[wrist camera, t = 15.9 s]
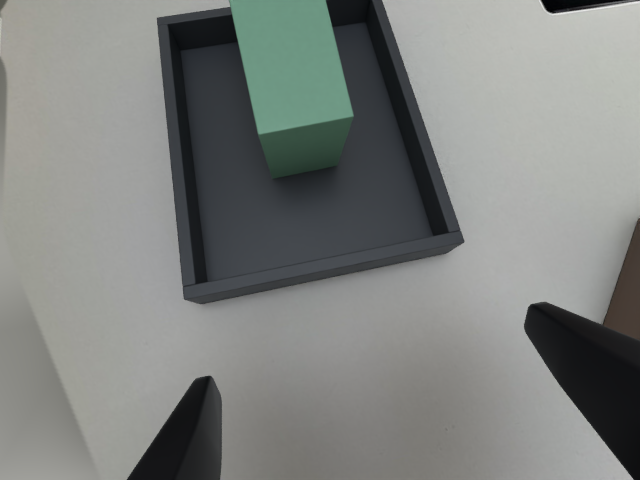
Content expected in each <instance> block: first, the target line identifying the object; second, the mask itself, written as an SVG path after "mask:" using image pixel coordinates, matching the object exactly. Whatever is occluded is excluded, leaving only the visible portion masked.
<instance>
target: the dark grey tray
mask: <svg viewBox="0 0 640 480" xmlns="http://www.w3.org/2000/svg"><path fill="white" fill-rule="evenodd" d="M326 3H327V8H328V12H329V16H330V20H331V24H332V28H333V32H334V36H335V41H336V45H337V49H338V53H339V57H340V61H341V65H342V69H343V74H344V78H345V82H346V86H347V90H348V94H349V98H350V103H351V107H352V111H353V115H354V117H353V120H352V123H351V126H350V129H349V132H348V135H347V138H346V141H345V144H344V147H343V150H342V153H341V156H340V159H339V162H338V165H337V166H333V167H328V168H323V169H318V170H313V171H308V172H304V173H299V174H294V175H289V176H284V177H279V178H274V179H272V176H271V173H270V170H269V167H268V164H267V161H266V158H265V154H264V151H263V148H262V145H261V142H260V139H259V136H258V132H257V127H256V123H255V118H254V113H253V109H252V104H251V99H250V95H249V90H248V86H247V81H246V76H245V72H244V67H243V62H242V58H241V53H240V49H239V44H238V39H237V35H236V30H235V25H234V21H233V16H232V12H231V7H227V8H220V9H213V10H206V11H200V12H193V13H186V14H179V15H172V16H166V17H159V18H157V25H158V36H159V46H160V56H161V67H162V77H163V87H164V98H165V108H166V118H167V129H168V139H169V149H170V160H171V170H172V180H173V191H174V201H175V211H176V222H177V232H178V242H179V253H180V263H181V273H182V283H183V294H184V300H188V301H191V302H195V303H199V304H204V303H209V302H214V301H219V300H224V299H228V298H233V297H238V296H243V295H248V294H252V293H257V292H262V291H267V290H272V289H277V288H281V287H286V286H291V285H296V284H301V283H306V282H310V281H315V280H320V279H325V278H330V277H335V276H339V275H344V274H349V273H354V272H359V271H364V270H368V269H373V268H378V267H383V266H388V265H392V264H397V263H402V262H407V261H412V260H417V259H421V258H426V257H431V256H436V255H441V254H446V253H448V252H449V251H451V250H453V249H454V248H456V247H457V246H459V245H461V244H462V243H464V239H463V236H462V233H461V231H460V227H459V224H458V221H457V218H456V215H455V212H454V209H453V207H452V204H451V201H450V198H449V195H448V192H447V189H446V186H445V183H444V180H443V177H442V174H441V171H440V169H439V166H438V163H437V160H436V157H435V154H434V151H433V148H432V145H431V142H430V139H429V136H428V133H427V131H426V128H425V125H424V122H423V119H422V116H421V113H420V110H419V107H418V104H417V101H416V98H415V95H414V93H413V90H412V87H411V84H410V81H409V78H408V75H407V72H406V69H405V66H404V63H403V60H402V57H401V55H400V52H399V49H398V46H397V43H396V40H395V37H394V34H393V31H392V28H391V25H390V22H389V19H388V17H387V14H386V11H385V8H384V5H383V2H382V0H326Z"/></svg>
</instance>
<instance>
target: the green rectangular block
mask: <svg viewBox="0 0 640 480" xmlns="http://www.w3.org/2000/svg"><path fill="white" fill-rule="evenodd" d="M229 2H230V7H231V12H232V16H233V21H234V25H235V30H236V35H237V39H238V44H239V49H240V53H241V58H242V62H243V67H244V72H245V76H246V81H247V86H248V90H249V95H250V99H251V104H252V109H253V113H254V118H255V123H256V127H257V132H258V136H259V139H260V142H261V145H262V148H263V151H264V154H265V158H266V161H267V164H268V167H269V170H270V173H271V176H272V179H274V178H279V177H284V176H289V175H294V174H299V173H304V172H308V171H313V170H318V169H323V168H328V167H333V166H337V165H338V162H339V159H340V156H341V153H342V150H343V147H344V144H345V141H346V138H347V135H348V132H349V129H350V126H351V123H352V120H353V117H354V115H353V111H352V107H351V103H350V98H349V94H348V90H347V86H346V82H345V78H344V74H343V69H342V65H341V61H340V57H339V53H338V49H337V45H336V41H335V36H334V32H333V28H332V24H331V20H330V16H329V12H328V8H327V3H326V0H229Z"/></svg>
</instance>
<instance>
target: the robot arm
mask: <svg viewBox="0 0 640 480" xmlns="http://www.w3.org/2000/svg"><path fill="white" fill-rule="evenodd" d="M524 329H525V332H526V334H527V336H528V337H529V339H530V340H531V342H532V343H533V345H534V347H535V348H536V350H537V351H538V353H539V354H540V356H541V357H542V359H543V361H544V362H545V364H546V365H547V367H548V368H549V370H550V371H551V373H552V375H553V376H554V377H555V379H556V380H557V382H558V383H559V385H560V386H561V387H562V389H563V390H564V391H565V392H566V394H567V395H568V396H569V398H570V399H571V400H572V401H573V403H574V404H575V405H576V407H577V408H578V409H579V410H580V412H581V413H582V414H583V415H584V417H585V418H586V419H587V421H588V422H589V423H590V424H591V426H592V427H593V428H594V429H595V431H596V432H597V433H598V435H599V436H600V437H601V438H602V440H603V441H604V442H605V444H606V445H607V446H608V447H609V449H610V450H611V451H612V452H613V454H614V455H615V456H616V458H617V459H618V460H619V461H620V463H621V464H622V465H623V466H624V468H625V469H626V470H627V472H628V473H629V474H630V475H631V477H632V478H633V479H634V480H640V340H638V339H635V338H633V337H630V336H628V335H625V334H623V333H621V332H618V331H616V330H613V329H611V328H608V327H606V326H603V325H601V324H599V323H596V322H594V321H591V320H589V319H586V318H584V317H581V316H579V315H577V314H574V313H572V312H569V311H567V310H564V309H562V308H559V307H557V306H555V305H552V304H550V303H547V302H540V303H535V304H531V305H530V306H529V307H528V310H527V315H526V319H525V323H524ZM221 460H222V400H221V395H220V392H219V390H218V388H217V386H216V384H215V381H214V379H213V378H212V376H205V377H200V378H197V379H195V380H194V381H193V383H192V384H191V386H190V387H189V389H188V390H187V392H186V393H185V394H184V396H183V397H182V399H181V400H180V402H179V403H178V405H177V406H176V408H175V409H174V411H173V412H172V414H171V415H170V417H169V418H168V420H167V421H166V422H165V424H164V425H163V427H162V428H161V430H160V431H159V433H158V434H157V436H156V437H155V439H154V440H153V442H152V443H151V445H150V446H149V448H148V449H147V451H146V452H145V453H144V455H143V456H142V458H141V459H140V461H139V462H138V464H137V465H136V467H135V468H134V470H133V471H132V473H131V474H130V476H129V477H128V479H127V480H220V475H221Z"/></svg>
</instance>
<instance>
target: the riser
mask: <svg viewBox="0 0 640 480" xmlns="http://www.w3.org/2000/svg"><path fill="white" fill-rule="evenodd" d="M603 326H606V327H608V328H611V329H613V330H616V331H618V332H621V333H623V334H625V335H628V336H630V337H633V338H635V339H638V340H640V218H639V220H638V223H637V226H636V229H635V232H634V235H633V238H632V241H631V244H630V247H629V250H628V253H627V256H626V259H625V262H624V265H623V268H622V271H621V274H620V276H619V279H618V282H617V285H616V288H615V291H614V294H613V297H612V300H611V303H610V306H609V309H608V312H607V315H606V318H605V321H604V324H603Z"/></svg>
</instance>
